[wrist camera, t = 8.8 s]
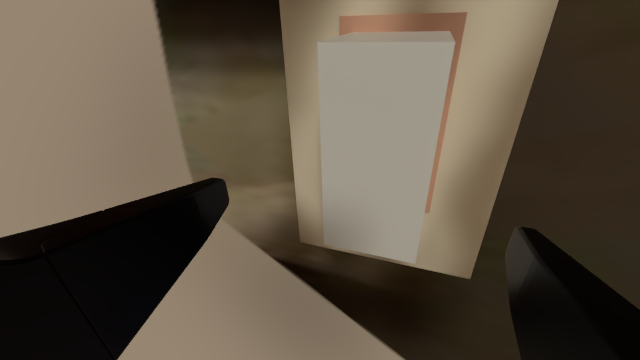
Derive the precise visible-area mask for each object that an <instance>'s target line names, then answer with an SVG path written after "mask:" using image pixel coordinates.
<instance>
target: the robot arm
mask: <svg viewBox="0 0 640 360" xmlns="http://www.w3.org/2000/svg"><path fill="white" fill-rule="evenodd" d="M228 204H229V196H228V191H227V187H226V183H225V181H224V180H223V179H219V178H209V179H206V180H203V181H199V182H196V183H192V184H189V185H186V186H183V187H179V188H176V189H172V190H169V191H166V192H162V193H159V194H156V195H152V196H149V197H145V198H142V199H139V200H135V201H132V202H129V203H125V204H122V205H118V206H115V207H112V208H109V209H105V210H104V211H98V212H95V213H92V214H88V215H84V216H81V217H78V218H74V219H71V220H67V221H63V222H59V223H56V224H52V225H48V226H44V227H41V228H37V229H33V230H29V231H25V232H21V233H17V234H13V235H9V236H5V237H2V238H0V360H117V359H118V358H119V356H120V355H121V354H122V353H123V351H124V350H125V349H126V347H127V346H128V345H129V343H130V342H131V340H132V339H133V338H134V337H135V335H136V334H137V332H138V331H139V330H140V328H141V327H142V326H143V325H144V323H145V322H146V320H147V319H148V318H149V316H150V315H151V314H152V313H153V311H154V309H155V308H156V307H157V305H158V304H159V303H160V302H161V301H162V299H163V298H164V296H165V295H166V294H167V293H168V291H169V290H170V289H171V287H172V286H173V285H174V283H175V282H176V281H177V279H178V278H179V276H180V275H181V274H182V273H183V271H184V270H185V268H186V267H187V266H188V265H189V263H190V262H191V260H192V259H193V258H194V257H195V255H196V254H197V253H198V251H199V250H200V249H201V247H202V246H203V244H204V243H205V242H206V240H207V239H208V237H209V236H210V234H211V233H212V231H213V229H214V228H215V226H216V224H217V223H218V221H219V219H220V218H221V216H222V214H223V213H224V211H225V209H226V208H227V206H228ZM505 260H506V271H507V282H508V293H509V303H510V311H511V316H512V321H513V325H514V330H515V334H516V338H517V343H518V347H519V351H520V356H521V360H640V310H639V309H638V308H637V307H635V306H634V305H633V304H631V303H630V302H629V301H628V300H626V299H625V298H624V297H622V296H621V295H620V294H618V293H617V292H616V291H615V290H613V289H612V288H611V287H609V286H608V285H607V284H606V283H604V282H603V281H602V280H600V279H599V278H598V277H596V276H595V275H594V274H593V273H591V272H590V271H589V270H587V269H586V268H585V267H584V266H582V265H581V264H580V263H578V262H577V261H576V260H574V259H573V258H572V257H571V256H569V255H568V254H567V253H565V252H564V251H563V250H562V249H560V248H559V247H558V246H556V245H555V244H554V243H552V242H551V241H550V240H549V239H547V238H546V237H545V236H543V235H542V234H541V233H540V232H538V231H537V230H535V229H532V228H526V227H519V226H518V227H516V228H515V229H514V231H513V233H512V236H511V239H510V241H509V244H508V247H507V249H506V254H505Z"/></svg>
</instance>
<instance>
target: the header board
mask: <svg viewBox="0 0 640 360" xmlns="http://www.w3.org/2000/svg"><path fill="white" fill-rule="evenodd" d="M558 1H559V0H279V4H280V16H281V28H282V39H283V51H284V62H285V74H286V86H287V97H288V109H289V121H290V132H291V144H292V156H293V167H294V179H295V191H296V202H297V214H298V226H299V237H300V242H302V243H306V244H311V245H316V246H320V247H325V248H329V249H334V250H339V251H343V252H348V253H352V254H357V255H362V256H366V257H371V258H375V259H380V260H385V261H389V262H394V263H398V264H403V265H408V266H412V267H417V268H421V269H426V270H431V271H435V272H440V273H444V274H449V275H454V276H458V277H463V278H467V279H470V277H471V274H472V271H473V268H474V265H475V262H476V258H477V255H478V252H479V249H480V246H481V243H482V240H483V236H484V233H485V230H486V227H487V224H488V221H489V218H490V214H491V211H492V208H493V205H494V202H495V199H496V196H497V192H498V189H499V186H500V183H501V180H502V177H503V174H504V170H505V167H506V164H507V161H508V158H509V155H510V152H511V148H512V145H513V142H514V139H515V136H516V133H517V130H518V126H519V123H520V120H521V117H522V114H523V111H524V108H525V104H526V101H527V98H528V95H529V92H530V89H531V86H532V82H533V79H534V76H535V73H536V70H537V67H538V64H539V60H540V57H541V54H542V51H543V48H544V45H545V42H546V38H547V35H548V32H549V29H550V26H551V23H552V20H553V16H554V13H555V10H556V7H557V4H558ZM418 31H450V32H451V34H452V36H453V38H454V40H455V46H454V52H453V58H452V63H451V69H450V74H449V80H448V85H447V91H446V96H445V102H444V108H443V113H442V119H441V124H440V130H439V135H438V141H437V147H436V152H435V158H434V163H433V169H432V174H431V180H430V185H429V191H428V197H427V202H426V208H425V213H424V219H423V224H422V230H421V235H420V241H419V247H418V252H417V258H416V263H415V264H413V263H408V262H404V261H399V260H394V259H390V258H385V257H380V256H376V255H371V254H366V253H362V252H357V251H352V250H348V249H343V248H338V247H334V246H329V245H324V232H323V201H322V170H321V139H320V108H319V77H318V46H317V42H320V41H324V40H327V39H331V38H334V37H338V36H341V35H345V34H348V33H352V32H418Z"/></svg>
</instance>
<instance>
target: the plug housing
mask: <svg viewBox="0 0 640 360" xmlns="http://www.w3.org/2000/svg"><path fill="white" fill-rule="evenodd" d="M317 46H318V77H319V108H320V139H321V170H322V201H323V232H324V245H329V246H334V247H338V248H343V249H348V250H352V251H357V252H362V253H366V254H371V255H376V256H380V257H385V258H390V259H394V260H399V261H404V262H408V263H413V264H415V263H416V258H417V252H418V247H419V241H420V235H421V230H422V224H423V219H424V213H425V208H426V202H427V197H428V191H429V185H430V180H431V174H432V169H433V163H434V158H435V152H436V147H437V141H438V135H439V130H440V124H441V119H442V113H443V108H444V102H445V96H446V91H447V85H448V80H449V74H450V69H451V63H452V58H453V52H454V46H455V40H454V38H453V36H452V34H451V32H450V31H418V32H352V33H348V34H345V35H341V36H338V37H334V38H331V39H327V40H324V41H320V42H317Z"/></svg>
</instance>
